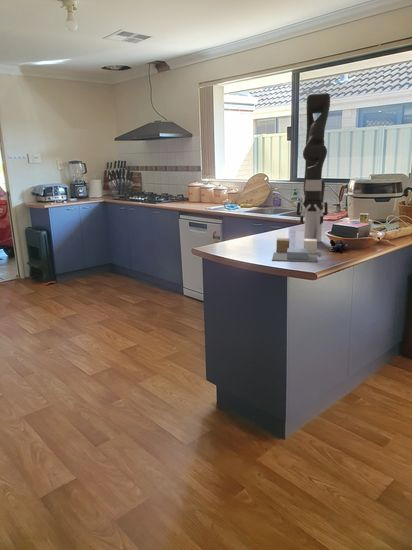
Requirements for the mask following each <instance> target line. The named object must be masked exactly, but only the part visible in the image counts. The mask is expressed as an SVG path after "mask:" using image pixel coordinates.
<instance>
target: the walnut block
mask: <svg viewBox="0 0 412 550" xmlns="http://www.w3.org/2000/svg"><path fill="white" fill-rule="evenodd" d="M290 241H291V240H290V238H289V237H286V238H285V237H277V238H276V247H275V248H276V251H275V252H280V253H287V250H288V248H290Z"/></svg>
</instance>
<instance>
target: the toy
mask: <svg viewBox="0 0 412 550" xmlns="http://www.w3.org/2000/svg"><path fill="white" fill-rule="evenodd" d="M329 244H330V245H331V247H329V248H328V251H329V252H335V253H337V252H339V253H340V252H341V253H342V252H343V250H344V248H347V246H348V244H347V243H346V244H343V242H342V240H339V239H336V240H335V241H333V240H331V239H330V241H329Z"/></svg>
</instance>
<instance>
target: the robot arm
mask: <svg viewBox="0 0 412 550" xmlns="http://www.w3.org/2000/svg"><path fill="white" fill-rule="evenodd" d="M306 97H307V98H306V136H305V137H306V138H305V147H304V149H303V152H302V158H303V159H304V160H305V167H304V168H305V169H304V180H303V195H304V199H303V202H302V201H298V202H297V205H296V206H297V207H296V215H297V216H299V219H300V220H299V222H300V224H301V225H304V231H303V232H304V234H303V240H304V239H317V243H320V242H322V234H323V233H322V231H323V223H324V216H325V217H326V216H327V215H328V207H329V206H328V204H329V203H328V202H327V201H325V202H324V197H325V196H324V195H325V187H326V183H325V180H324V179H323V177H322V176H323V175H322V174H323V167H324V163H325V160H326V157H327V155H328V149H327V147H326V146H325V129H326V124H327V120H328V117H329V111H330V108H331V107H330V106H331V96H330V93H328V92H317V93H316V92H315V93H309V94H308V95H307V96H306ZM314 114H320V115H319V116H318V117H317V118H316V119H315V117H314ZM302 206H303V207H304V209H303V210H302V211H300V208H301V207H302Z"/></svg>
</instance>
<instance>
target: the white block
mask: <svg viewBox="0 0 412 550" xmlns="http://www.w3.org/2000/svg"><path fill="white" fill-rule="evenodd" d="M317 247H318V242H317V239H304V238H303V248H304V249H307V250H308V253H312V254H318V253H317Z"/></svg>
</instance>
